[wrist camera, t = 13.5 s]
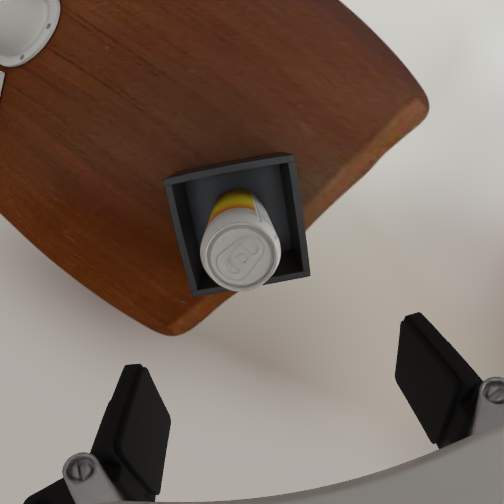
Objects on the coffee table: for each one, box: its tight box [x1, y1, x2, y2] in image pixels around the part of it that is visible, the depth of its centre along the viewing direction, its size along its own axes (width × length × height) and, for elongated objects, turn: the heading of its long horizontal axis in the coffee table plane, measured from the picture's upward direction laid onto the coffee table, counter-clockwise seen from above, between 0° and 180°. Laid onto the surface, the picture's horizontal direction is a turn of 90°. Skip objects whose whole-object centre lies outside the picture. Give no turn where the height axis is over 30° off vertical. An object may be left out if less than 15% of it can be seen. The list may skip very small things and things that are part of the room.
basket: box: [163, 152, 310, 297], centre depth 34 cm, size 12×12×8 cm
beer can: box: [200, 189, 281, 291], centre depth 30 cm, size 6×6×15 cm
